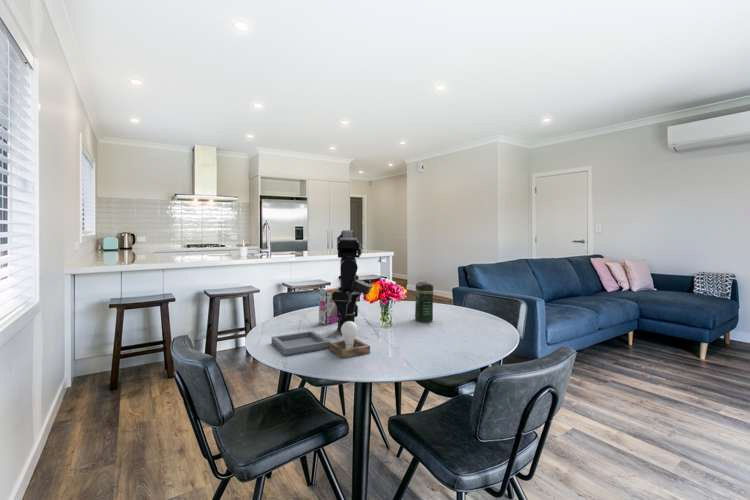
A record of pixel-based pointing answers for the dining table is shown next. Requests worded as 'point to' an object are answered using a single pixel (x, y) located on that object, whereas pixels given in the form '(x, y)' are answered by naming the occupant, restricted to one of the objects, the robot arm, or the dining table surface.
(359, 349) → the tray
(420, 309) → the coffee jar
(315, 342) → the tray
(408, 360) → the dining table surface
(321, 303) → the candy bar box
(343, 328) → the lightbulb
